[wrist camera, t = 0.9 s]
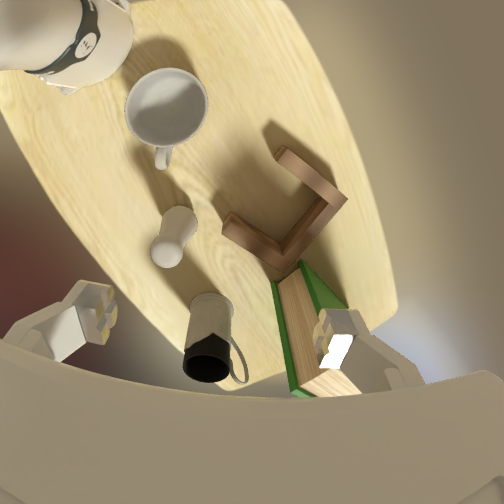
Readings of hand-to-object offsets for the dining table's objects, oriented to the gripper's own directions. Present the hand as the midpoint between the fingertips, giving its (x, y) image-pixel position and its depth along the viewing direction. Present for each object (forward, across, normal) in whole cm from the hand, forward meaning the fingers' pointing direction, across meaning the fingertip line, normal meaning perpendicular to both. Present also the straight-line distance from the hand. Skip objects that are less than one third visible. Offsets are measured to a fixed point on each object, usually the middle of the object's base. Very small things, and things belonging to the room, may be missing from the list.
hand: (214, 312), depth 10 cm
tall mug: (+35, 0, +30) cm, 46 cm away
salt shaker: (+35, +8, +10) cm, 37 cm away
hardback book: (+35, -18, +24) cm, 46 cm away
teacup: (+35, +10, -6) cm, 37 cm away
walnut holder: (+35, -8, +6) cm, 36 cm away
